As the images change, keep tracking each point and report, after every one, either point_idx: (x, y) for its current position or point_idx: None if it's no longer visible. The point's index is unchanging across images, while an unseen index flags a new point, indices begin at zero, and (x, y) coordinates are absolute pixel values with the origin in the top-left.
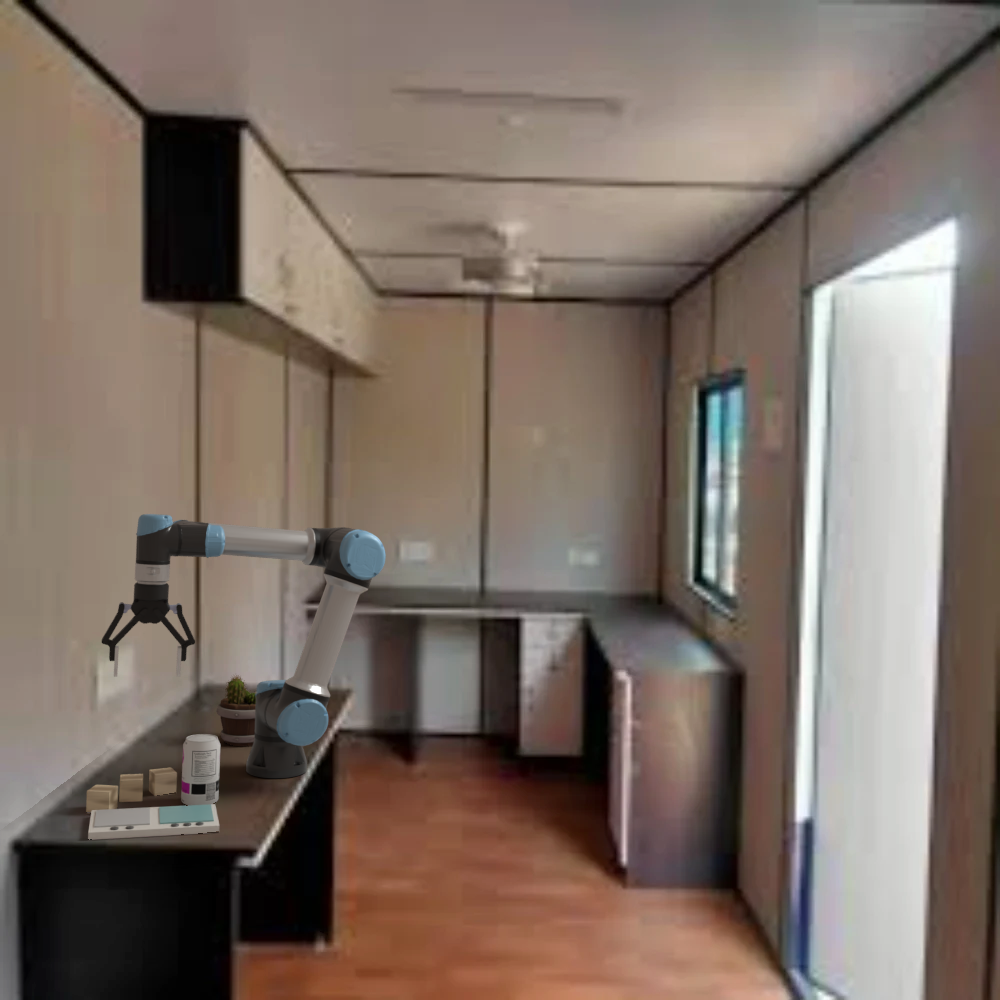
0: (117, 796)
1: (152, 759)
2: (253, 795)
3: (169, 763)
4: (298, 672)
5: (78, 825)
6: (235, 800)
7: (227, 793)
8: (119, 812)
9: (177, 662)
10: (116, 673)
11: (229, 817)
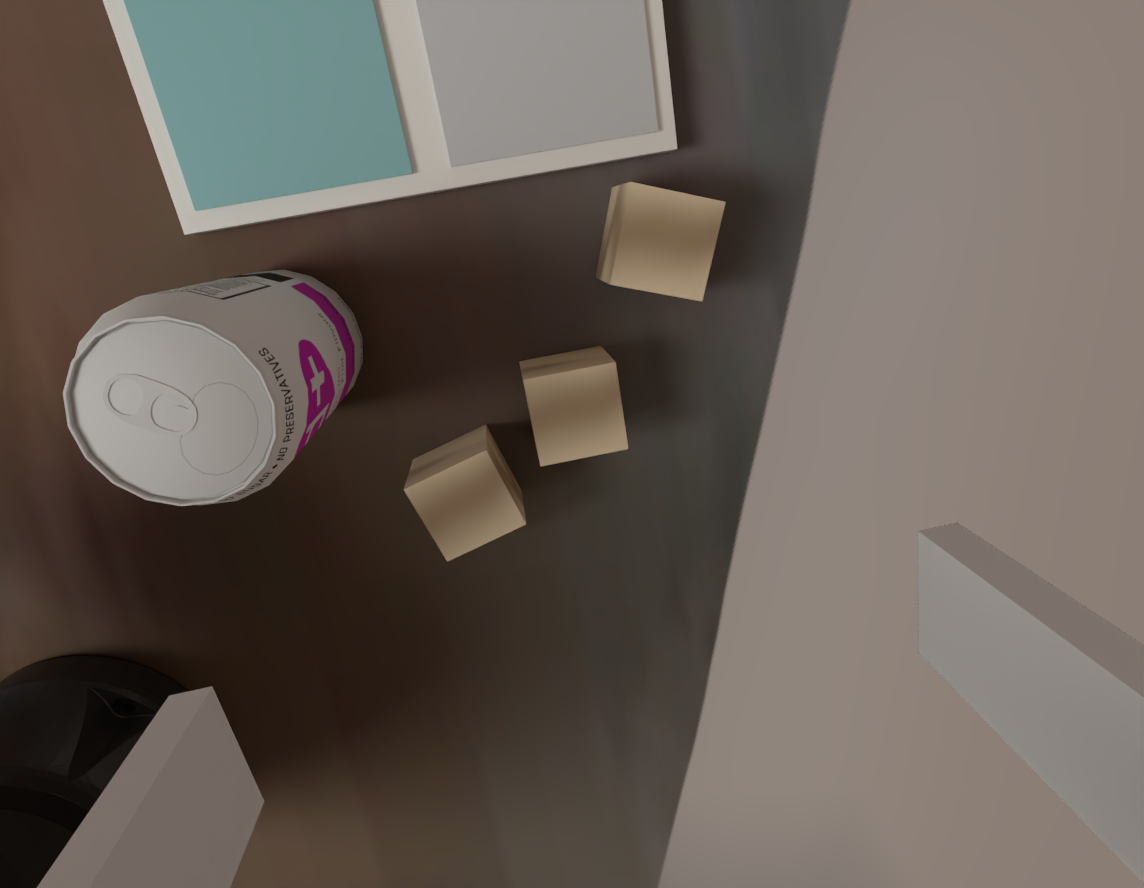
0: (603, 277)
1: (576, 815)
2: None
3: (513, 783)
4: None
5: (701, 39)
6: None
7: None
8: (560, 92)
9: (109, 848)
10: (951, 548)
11: (104, 139)
